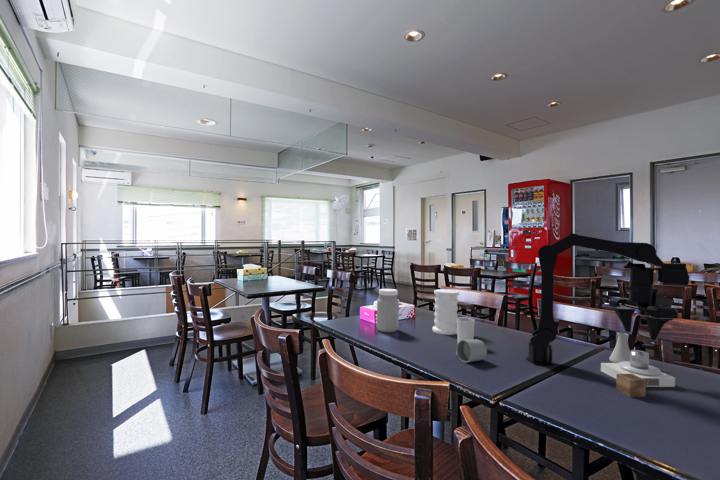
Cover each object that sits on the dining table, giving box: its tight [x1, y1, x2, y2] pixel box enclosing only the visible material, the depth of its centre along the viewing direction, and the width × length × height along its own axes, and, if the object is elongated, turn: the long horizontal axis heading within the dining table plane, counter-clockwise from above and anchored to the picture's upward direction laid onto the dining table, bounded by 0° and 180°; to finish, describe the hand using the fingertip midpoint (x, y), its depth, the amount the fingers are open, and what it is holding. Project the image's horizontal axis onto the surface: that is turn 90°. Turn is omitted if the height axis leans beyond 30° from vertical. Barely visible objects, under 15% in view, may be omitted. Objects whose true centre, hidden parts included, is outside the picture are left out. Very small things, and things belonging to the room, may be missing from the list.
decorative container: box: [431, 288, 460, 336], centre depth 158 cm, size 12×12×18 cm
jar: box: [376, 288, 400, 333], centre depth 158 cm, size 10×10×18 cm
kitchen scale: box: [600, 361, 676, 388], centre depth 107 cm, size 13×12×4 cm
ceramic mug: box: [455, 338, 488, 363], centre depth 122 cm, size 10×8×7 cm
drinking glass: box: [456, 316, 476, 343], centre depth 138 cm, size 7×7×10 cm
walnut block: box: [615, 374, 647, 398], centre depth 97 cm, size 4×4×4 cm
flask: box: [608, 331, 631, 363], centre depth 122 cm, size 7×7×10 cm
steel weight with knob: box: [630, 349, 650, 370], centre depth 107 cm, size 4×4×5 cm
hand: (640, 335), depth 107 cm, fingers open, 9 cm apart
